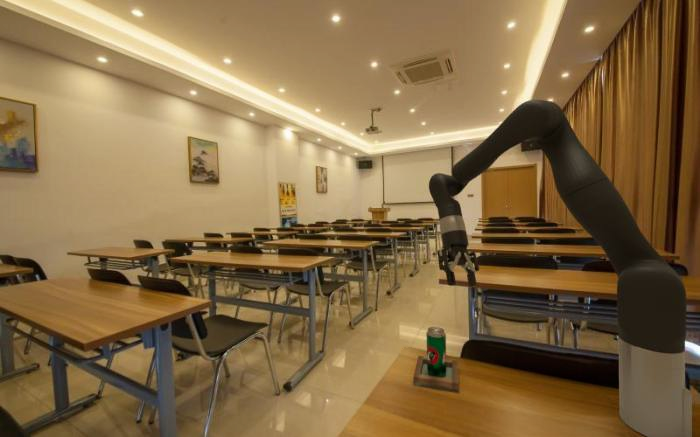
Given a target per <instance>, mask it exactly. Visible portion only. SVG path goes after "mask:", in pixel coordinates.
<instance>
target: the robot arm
mask: <svg viewBox="0 0 700 437" xmlns="http://www.w3.org/2000/svg"><path fill="white" fill-rule="evenodd" d="M526 141H533V142H535V145H537V147H539V149H540V150H541V151H542V153H543V154H544V155H545V157H546V159H547V161H548V162H549V165H550V167H551V168H550V169H551V173H552V177H553V181H554V186H555V189H556V191H557V193H558V196H559V198H560V199H561V200H562V202H563V204H564V205H565V207H566V208H567V210H568V211H569V212H570V214H571V215H572V217H573V218H574V219H575V221H577V223H578V224H579V225H580V226H581V227H582V228H583V230H584V231H586V232H587V234H589V235H590V236H591V237H592V239H594V240H595V242H596V243H598V245H599V246H600V247H601V249H602V250H603V252H604V253H605V255H606V256H607V258H608V260H609V261H610V263H611V266H612V267H613V269H614V271H615V274H616V276H617V278H618V279H617V283H616V316H617V317H616V318H617V320H616V322H617V328H618V391H619V392H618V393H619V404H618V408H619V410H618V411H619V412H618V413H619V418H620V420H621V421H622V422H623V423H624V424H626V426H628V427H629V428H631V429H632V430H633V431H635V432H636V433H639V434H641V435H643V436H645V437H693V429H692V428H693V426H692V424H693V407H692V406H693V396H692V395H693V394H692V393H693V392H692V391H690V389H688V388H687V387H686V339H687V291H686V287H685V284H684V281H683V280H682V277H681V276H680V274H678V272H677V271H676V270H675V269H674V268H673V267H672V266H671V265H669V263H668V262H667V261H666V260H665V259H664V257H663V256H662V255H660V253H659V252H658V251H657V250H656V249H655V248H654V247H653V245H652V243H650V242H649V241H648V239H647V238H646V237H645V235H644V233H642V231H641V229H640V227H639V226H638V224H637V222H636V220H635V218H634V215H633V214H632V212H631V211H630V209H629V206H628V204H626V201H625V200H624V198H623V197H622V195H621V194H620V192H619V191H618V190H617V188H616V186H615V185H614V184H613V182H612V181H611V180H610V178H609V176H608V175H607V174H606V173H605V172H604V170H603V169H602V168H601V167H600V165H599V164H598V163H597V161H596V160H595V158H594V157H593V156H592V154H591V153H589V151H588V149H586V148H585V146H584V145H583V144H582V142H581V141H580V140H579V138H578V136H577V135H576V133H575V131H574V128H572V125H571V123H570V121H569V120H568V117H567V116H566V114H565V112H564V110H563V109H562V107H561V106H560V105H559V104H557V103H556V102H553V101H550V100H543V99H529V100H527V101H526V100H525V101H524V102H522V103H521V104H520V105H518V106H517V107H516V108H514V110H513V111H512V112H510V114H509V115H508V116H507V117H506V118H505V119H504V120H503V121H502V122H501V123H500V124H499V125H498V126H497V127H496V128H495V129H494V130H493V131H492V133H491V134H489V135H488V136H487V138H485V139H484V140H483V141H482V142H481V143H480V144H478V145H477V146H476V147H475V148H474V149H472V150H471V151H469V153H467V155H465V156H463V157H462V158H461V159H460V160H458V161H457V162H456V163H454V164H453V166H452V168H451V174H452V175H451V174H450V175H449V174H445V173H441V172H438V173H435V174H433V175H432V176H431V177H430V178H429V182H428V190H429V194H430V195H431V199H432V201H433V202H434V205H435V207H436V209H437V213H438V219H439V231H440V238H441V242H442V248H441V249H439V250H437V260H438V267H439V268H438V269H439V270H440V271H444V273H445V276H446V283H447V285H448V286H450V287H451V286H453V287H454V286H455V285H456V284H457V282H456V277H455V276H456V275H455V271H454V270H455V267H456V266H457V267H460V268H461V269H464V271H465V272H466V277H467V278H466V279H467V284H468V286H469V287H476V286H477V278H476V272H478V271H480V267H479V263H478V258H477V254H476V252H475V251H468V250H467V248H468V246H469V244H470V242H469V238H468V234H467V233H468V232H467V229H466V224H465V221H464V218H463V213H462V212H463V211H462V209H461V204H460V202H459V201H458V200H456V199H455V198H453V197H455V196H456V197H457V196H458V195H460V194H461V193H462V192H463V190H464V189H465V188H466V187H467V185H468V184H469V183H470V182H471V181H473V180H474V179H476V178H477V177H479V176H480V175H482V174H483V173H485V172H486V171H487V170H488V169H489V168H490V167H492V166H493V165H494V163H495V162H496V161H497V160H498V159H499V158H500V157H501V156H503V154H505V153H506V152H508V151H509V150H510V149H512V148H514V147H516V146H518V145H521V144H522V143H524V142H526Z"/></svg>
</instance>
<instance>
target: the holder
mask: <svg viewBox="0 0 700 437" xmlns="http://www.w3.org/2000/svg"><path fill="white" fill-rule="evenodd" d="M416 360H417V361H416V364H415V369H414V374H413V386H416V387H422V388H426V389H427V388H428V389H435V390H441V391H446V392H451V393H452V392H453V393H458V394H459V393H460V390H459V389H460V385H459V361H458V360H456V359H447V358H446V375H445V376H443V377H434V376H431V375H430V374H429V373H428V371H427V356H423V355H417V359H416Z"/></svg>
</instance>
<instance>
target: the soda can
mask: <svg viewBox="0 0 700 437" xmlns="http://www.w3.org/2000/svg"><path fill="white" fill-rule="evenodd" d="M425 335H426V357H427V371H428V373H429V374H430V375H431V376H434V377H443V376H445V375H446V359H447V334H446V333H445V329H444V328H442V327H440V326H431V327H428V328H427V331H426V334H425Z"/></svg>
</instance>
